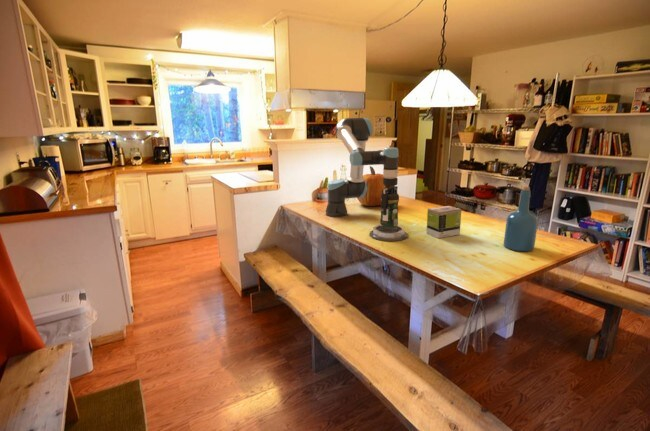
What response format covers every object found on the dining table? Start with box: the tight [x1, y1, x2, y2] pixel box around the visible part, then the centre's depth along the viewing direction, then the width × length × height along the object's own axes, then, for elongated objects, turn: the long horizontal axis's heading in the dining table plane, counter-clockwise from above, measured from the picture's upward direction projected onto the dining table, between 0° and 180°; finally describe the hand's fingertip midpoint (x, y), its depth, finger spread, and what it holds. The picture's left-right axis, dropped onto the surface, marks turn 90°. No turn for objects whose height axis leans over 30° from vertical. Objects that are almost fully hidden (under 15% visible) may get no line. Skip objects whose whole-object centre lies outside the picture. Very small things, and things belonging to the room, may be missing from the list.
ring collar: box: [368, 224, 409, 242], centre depth 186 cm, size 21×21×4 cm
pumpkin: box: [356, 165, 385, 207], centre depth 254 cm, size 26×23×30 cm
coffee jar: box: [379, 192, 400, 227], centre depth 182 cm, size 10×8×19 cm
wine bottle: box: [503, 185, 539, 252], centre depth 160 cm, size 14×13×30 cm
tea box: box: [426, 205, 462, 239], centre depth 184 cm, size 15×10×15 cm, turn 111°
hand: (389, 218), depth 184 cm, fingers closed on coffee jar, 8 cm apart
